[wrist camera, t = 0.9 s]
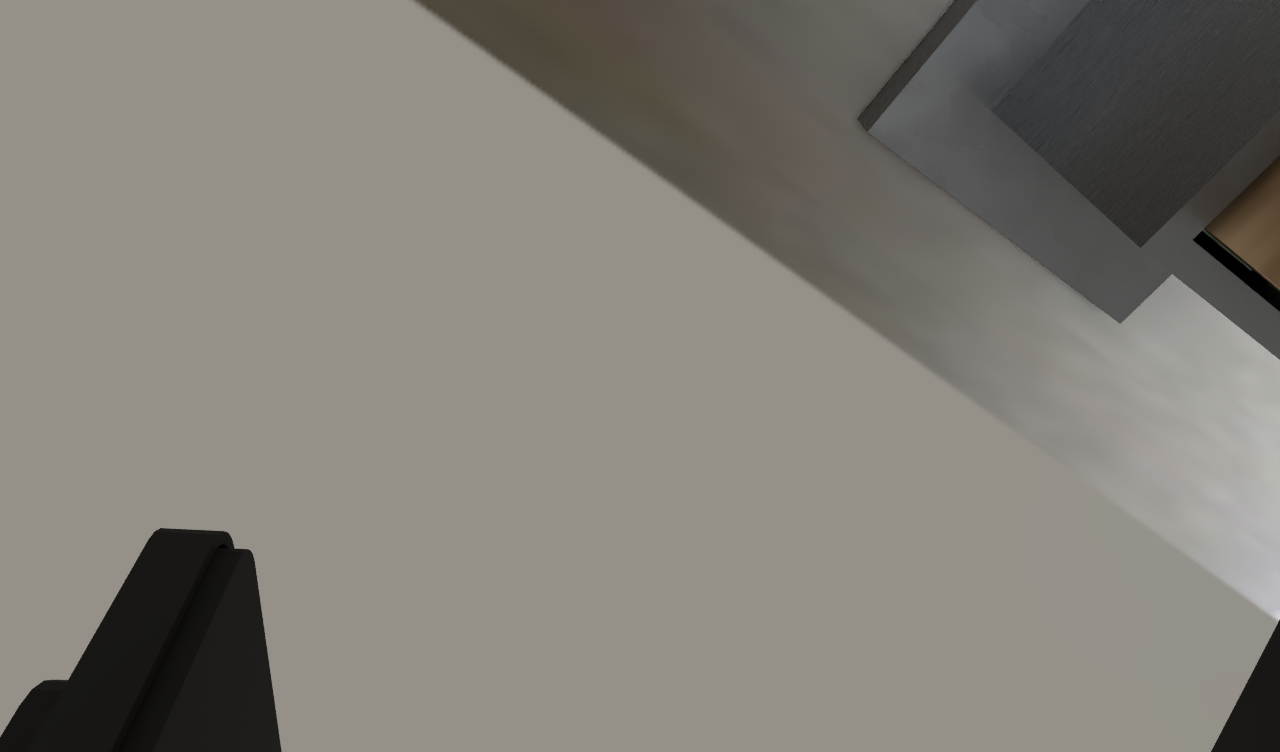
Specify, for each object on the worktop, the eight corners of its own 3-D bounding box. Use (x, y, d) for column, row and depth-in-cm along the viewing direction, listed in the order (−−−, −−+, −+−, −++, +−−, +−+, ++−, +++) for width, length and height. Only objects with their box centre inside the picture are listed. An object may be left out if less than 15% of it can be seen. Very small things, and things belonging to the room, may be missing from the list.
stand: (1139, -222, 33) (1419, -202, 22) (1386, 29, 37) (1727, 153, 26) (857, 119, 38) (969, 275, 27) (1103, 306, 43) (1288, 508, 31)
